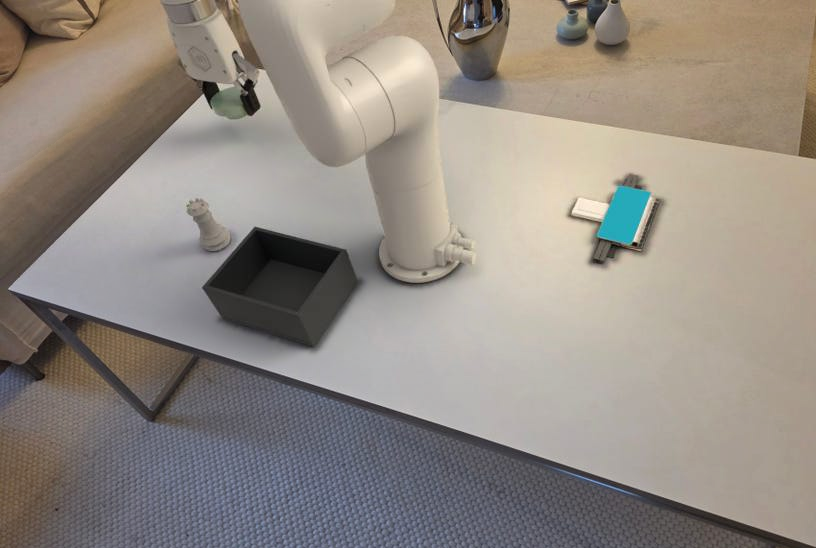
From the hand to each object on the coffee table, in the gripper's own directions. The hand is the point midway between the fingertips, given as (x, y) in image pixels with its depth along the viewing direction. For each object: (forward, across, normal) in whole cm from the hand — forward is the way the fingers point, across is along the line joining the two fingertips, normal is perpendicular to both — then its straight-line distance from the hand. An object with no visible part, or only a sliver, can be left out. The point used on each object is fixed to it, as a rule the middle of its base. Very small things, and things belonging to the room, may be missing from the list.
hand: (236, 108), depth 105 cm
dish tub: (+6, +30, -32) cm, 45 cm away
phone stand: (+7, +69, -2) cm, 70 cm away
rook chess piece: (+6, +12, -26) cm, 29 cm away
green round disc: (+1, 0, 0) cm, 1 cm away
